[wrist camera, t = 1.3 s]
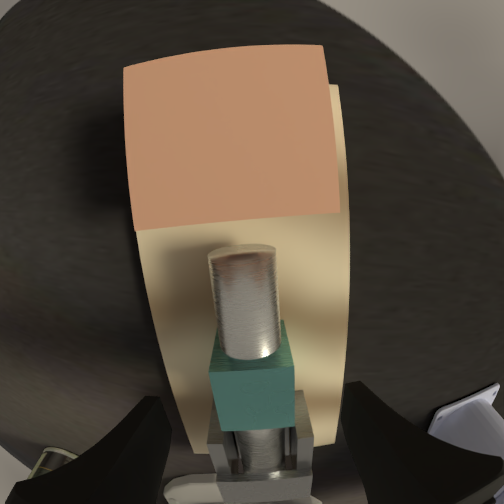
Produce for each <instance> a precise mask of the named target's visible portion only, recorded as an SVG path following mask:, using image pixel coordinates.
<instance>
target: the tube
mask: <svg viewBox="0 0 504 504" xmlns="http://www.w3.org/2000/svg"><path fill="white" fill-rule="evenodd" d="M207 256H208V264H209V272H210V279H211V287H212V294H213V301H214V308H215V315H216V321H217V331H216V336H215V341H214V346H213V351H212V356H211V361H210V366H209V371H208V373H209V378H210V383H211V387H212V392H213V396H214V401H215V405H216V410H217V414H218V418H219V422H220V426H221V430H222V431H236V435H237V440H238V445H239V450H240V455H241V459H242V464H243V468H244V473H264V472H277V471H286V465H285V427H294V426H295V370H294V362H293V358H292V354H291V349H290V345H289V341H288V337H287V332H286V328H285V324H284V320H280V308H279V290H278V274H277V258H276V248H275V247H273V246H270V245H265V244H240V245H232V246H227V247H222V248H219V249H216V250H213V251H211V252H210V253H209V254H208V255H207Z"/></svg>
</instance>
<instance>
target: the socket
mask: <svg viewBox="0 0 504 504" xmlns="http://www.w3.org/2000/svg"><path fill="white" fill-rule="evenodd" d="M124 127H125V145H126V159H127V171H128V182H129V191H130V200H131V208H132V216H133V223H134V230H135V231H140V230H149V229H158V228H167V227H176V226H185V225H195V224H205V223H215V222H226V221H236V220H248V219H259V218H272V217H284V216H298V215H312V214H327V213H340V196H339V179H338V165H337V152H336V141H335V131H334V122H333V113H332V105H331V97H330V90H329V83H328V76H327V69H326V63H325V57H324V51H323V46H321V45H260V46H244V47H232V48H223V49H214V50H207V51H200V52H193V53H187V54H181V55H176V56H171V57H166V58H161V59H156V60H152V61H148V62H143V63H139V64H136V65H132V66H128V67H124Z"/></svg>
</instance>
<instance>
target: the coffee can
mask: <svg viewBox="0 0 504 504" xmlns="http://www.w3.org/2000/svg"><path fill="white" fill-rule="evenodd" d="M77 457H78V455H76V454H74V453H71V452H69V451H66V450H64V449H61V448H56V447H47V448H45V449H44V451H43V454H42V455H41V457H40V459H39V460H38V462H37V464H36V465H35V467H34V468H33V470H32V472H31V474H30V475H29V477H28V478H27V479H30V478H34V477H37V476H40V475H43V474H45V473H48V472H50V471H52V470H55V469H57V468H59V467H61V466H63V465H65V464H66V463H68V462H70V461H72V460H73V459H75V458H77Z"/></svg>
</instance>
